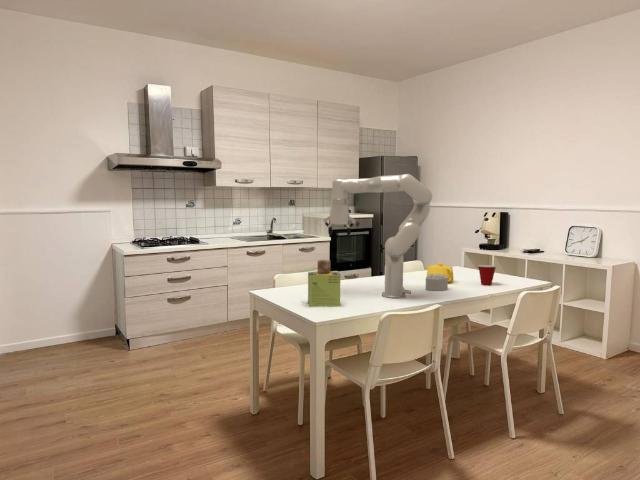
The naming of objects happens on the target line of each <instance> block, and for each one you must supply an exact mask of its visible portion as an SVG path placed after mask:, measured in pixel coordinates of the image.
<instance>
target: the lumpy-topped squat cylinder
mask: <svg viewBox="0 0 640 480" xmlns="http://www.w3.org/2000/svg"><path fill="white" fill-rule="evenodd" d="M448 285H449V283H448V277H446V276H445V275H442V274H435V275H433V274H429V275H428V276H427V275H426V277H425V290H426V291H427V292H445V291H448V290H449V289H448Z"/></svg>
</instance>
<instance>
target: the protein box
mask: <svg viewBox="0 0 640 480" xmlns="http://www.w3.org/2000/svg"><path fill="white" fill-rule="evenodd" d="M307 284H308V285H307V304H308V307H341V273H340V271H338V270H333V271H332V270H330V273H328V274H320V273H318V270H317V271H314V270H313V271H312V270H311V271H308V274H307Z"/></svg>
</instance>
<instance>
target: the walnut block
mask: <svg viewBox="0 0 640 480" xmlns="http://www.w3.org/2000/svg"><path fill="white" fill-rule="evenodd" d="M317 271H318V273H320V274H328V273H330V271H331V260H330V259H319V260H317Z"/></svg>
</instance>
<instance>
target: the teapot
mask: <svg viewBox="0 0 640 480" xmlns="http://www.w3.org/2000/svg"><path fill="white" fill-rule="evenodd" d="M425 268H426V270H427V271H426V277H427V276H428V275H429V274H433V275H435V274H442V275H445V276H446V277H448V284H451V283H452V284H453V282H454V270H453V267H452V266H449V265H444V263H443V262H437V264H433V265H426V266H425Z"/></svg>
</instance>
